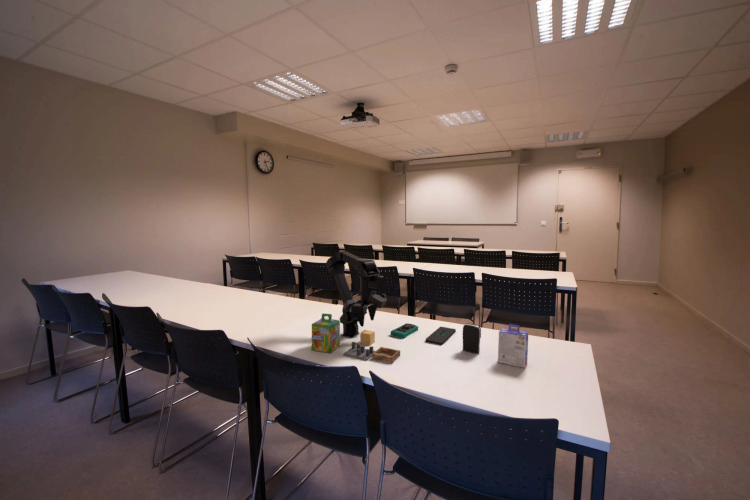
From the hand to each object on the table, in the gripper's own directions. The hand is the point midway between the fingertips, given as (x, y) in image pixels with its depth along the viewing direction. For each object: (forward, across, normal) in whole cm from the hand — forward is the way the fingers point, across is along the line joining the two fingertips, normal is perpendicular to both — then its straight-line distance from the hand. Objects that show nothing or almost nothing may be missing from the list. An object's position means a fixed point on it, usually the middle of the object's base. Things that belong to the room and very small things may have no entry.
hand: (367, 323), depth 144 cm
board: (+9, -12, -3) cm, 15 cm away
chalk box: (+9, -13, +13) cm, 20 cm away
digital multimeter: (+10, +19, -10) cm, 23 cm away
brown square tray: (+9, -10, -14) cm, 20 cm away
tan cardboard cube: (+9, 0, 0) cm, 9 cm away
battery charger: (+9, +11, -43) cm, 45 cm away
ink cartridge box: (+9, +7, -59) cm, 60 cm away
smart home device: (+10, +22, -27) cm, 36 cm away
